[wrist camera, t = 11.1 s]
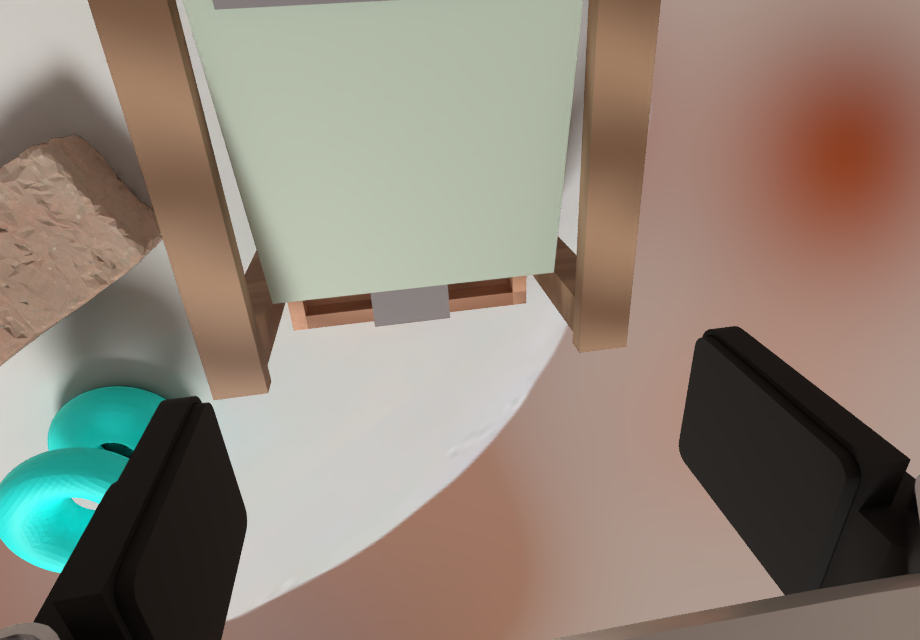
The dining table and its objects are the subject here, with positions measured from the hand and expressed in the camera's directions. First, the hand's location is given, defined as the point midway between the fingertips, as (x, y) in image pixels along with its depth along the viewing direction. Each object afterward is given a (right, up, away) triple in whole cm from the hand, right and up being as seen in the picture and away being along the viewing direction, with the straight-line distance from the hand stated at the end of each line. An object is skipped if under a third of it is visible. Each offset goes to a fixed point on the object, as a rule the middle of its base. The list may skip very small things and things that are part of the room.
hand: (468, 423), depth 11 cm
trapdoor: (-3, +10, +13) cm, 16 cm away
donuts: (-26, -7, +33) cm, 43 cm away
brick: (-29, +7, +26) cm, 40 cm away
